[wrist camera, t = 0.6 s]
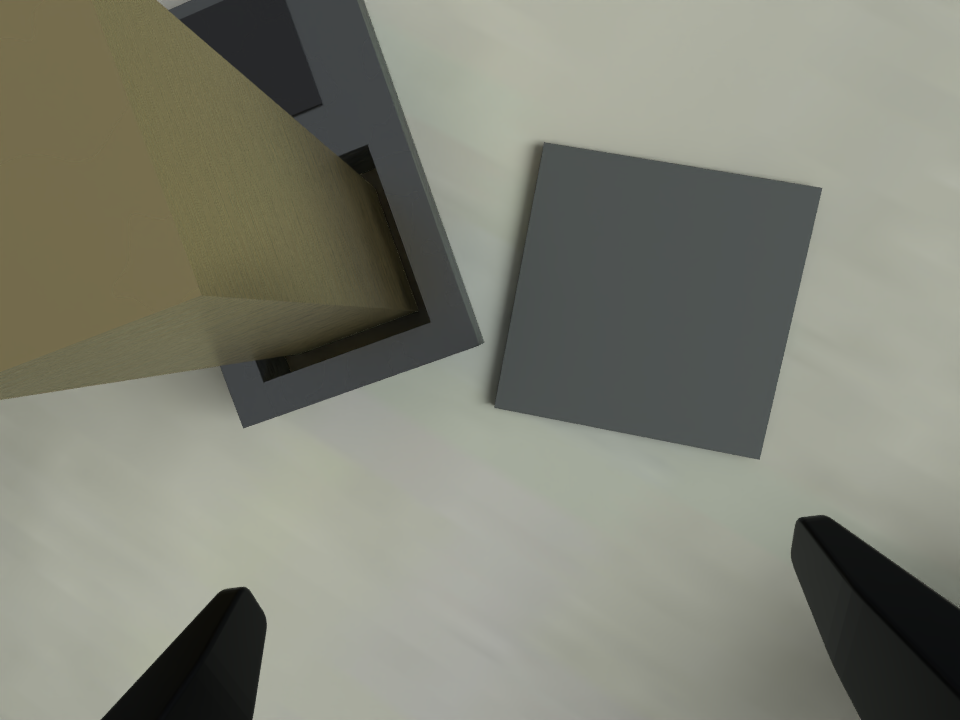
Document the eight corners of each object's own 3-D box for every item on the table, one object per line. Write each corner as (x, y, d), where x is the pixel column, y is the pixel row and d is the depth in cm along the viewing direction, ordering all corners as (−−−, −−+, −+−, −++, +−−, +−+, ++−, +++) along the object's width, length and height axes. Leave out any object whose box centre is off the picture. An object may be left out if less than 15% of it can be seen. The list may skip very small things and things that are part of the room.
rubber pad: (755, 457, 22) (759, 459, 21) (494, 406, 22) (494, 407, 22) (816, 190, 21) (822, 188, 20) (543, 145, 21) (544, 142, 21)
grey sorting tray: (484, 342, 22) (478, 345, 20) (273, 416, 23) (242, 428, 20) (356, -19, 22) (333, -65, 19) (145, 71, 22) (96, 39, 20)
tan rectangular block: (419, 310, 22) (201, 295, 7) (302, 353, 23) (-122, 418, 8) (375, 188, 22) (60, -82, 7) (258, 233, 23) (-262, 69, 8)
